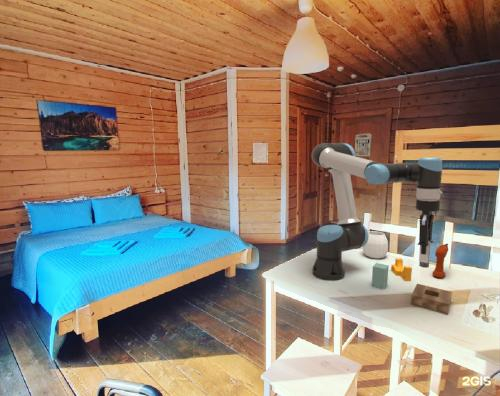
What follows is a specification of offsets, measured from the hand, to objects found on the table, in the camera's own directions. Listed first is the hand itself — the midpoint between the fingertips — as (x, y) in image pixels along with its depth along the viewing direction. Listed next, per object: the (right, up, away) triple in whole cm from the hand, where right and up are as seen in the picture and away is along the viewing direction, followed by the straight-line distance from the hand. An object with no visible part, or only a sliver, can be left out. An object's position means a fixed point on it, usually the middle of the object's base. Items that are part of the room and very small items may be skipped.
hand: (424, 260), depth 110 cm
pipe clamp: (+5, -14, +28) cm, 32 cm away
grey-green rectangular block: (-9, -15, +18) cm, 25 cm away
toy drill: (+27, -13, +31) cm, 42 cm away
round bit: (0, -2, 0) cm, 2 cm away
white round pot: (+4, -9, +53) cm, 54 cm away
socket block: (+4, -17, +3) cm, 18 cm away
